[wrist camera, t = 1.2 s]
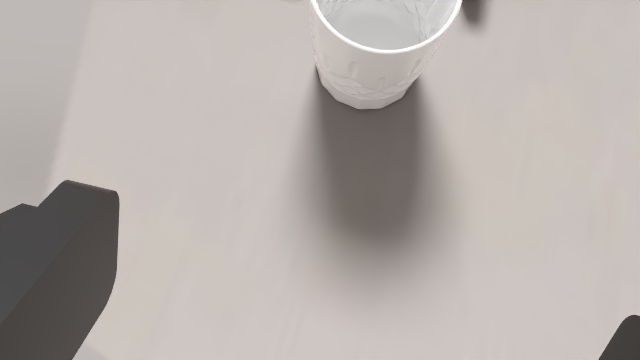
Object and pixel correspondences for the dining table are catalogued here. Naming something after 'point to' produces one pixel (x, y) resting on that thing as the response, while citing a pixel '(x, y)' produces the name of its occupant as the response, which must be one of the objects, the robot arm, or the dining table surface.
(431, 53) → the white cup
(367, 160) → the dining table surface
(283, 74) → the dining table surface
